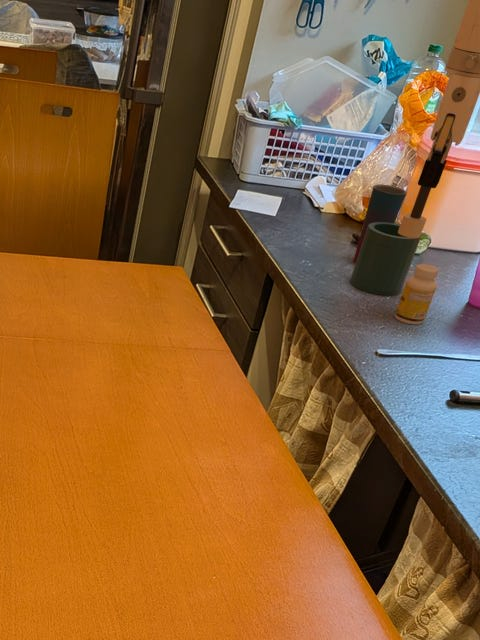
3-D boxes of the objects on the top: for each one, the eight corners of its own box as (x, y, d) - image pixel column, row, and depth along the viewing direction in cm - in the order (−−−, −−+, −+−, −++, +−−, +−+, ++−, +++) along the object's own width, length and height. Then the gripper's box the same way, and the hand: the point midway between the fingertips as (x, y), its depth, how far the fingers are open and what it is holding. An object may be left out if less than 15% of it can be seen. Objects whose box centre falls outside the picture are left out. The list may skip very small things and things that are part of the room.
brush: (411, 230, 171) (441, 147, 162) (424, 238, 168) (456, 153, 159) (393, 230, 169) (422, 146, 160) (406, 238, 167) (437, 152, 158)
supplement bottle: (397, 311, 180) (416, 260, 173) (425, 319, 178) (445, 267, 172) (390, 319, 176) (410, 267, 170) (419, 327, 174) (440, 275, 168)
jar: (380, 276, 196) (399, 221, 188) (411, 294, 188) (432, 238, 181) (340, 277, 192) (358, 222, 185) (369, 296, 185) (389, 239, 178)
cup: (350, 265, 199) (374, 190, 190) (348, 255, 205) (372, 182, 195) (382, 270, 199) (408, 196, 189) (379, 260, 204) (405, 187, 194)
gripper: (491, 73, 145) (444, 199, 156) (498, 62, 156) (454, 180, 168) (442, 65, 147) (399, 189, 159) (452, 54, 158) (411, 172, 170)
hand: (427, 184), depth 163 cm, fingers closed on brush
